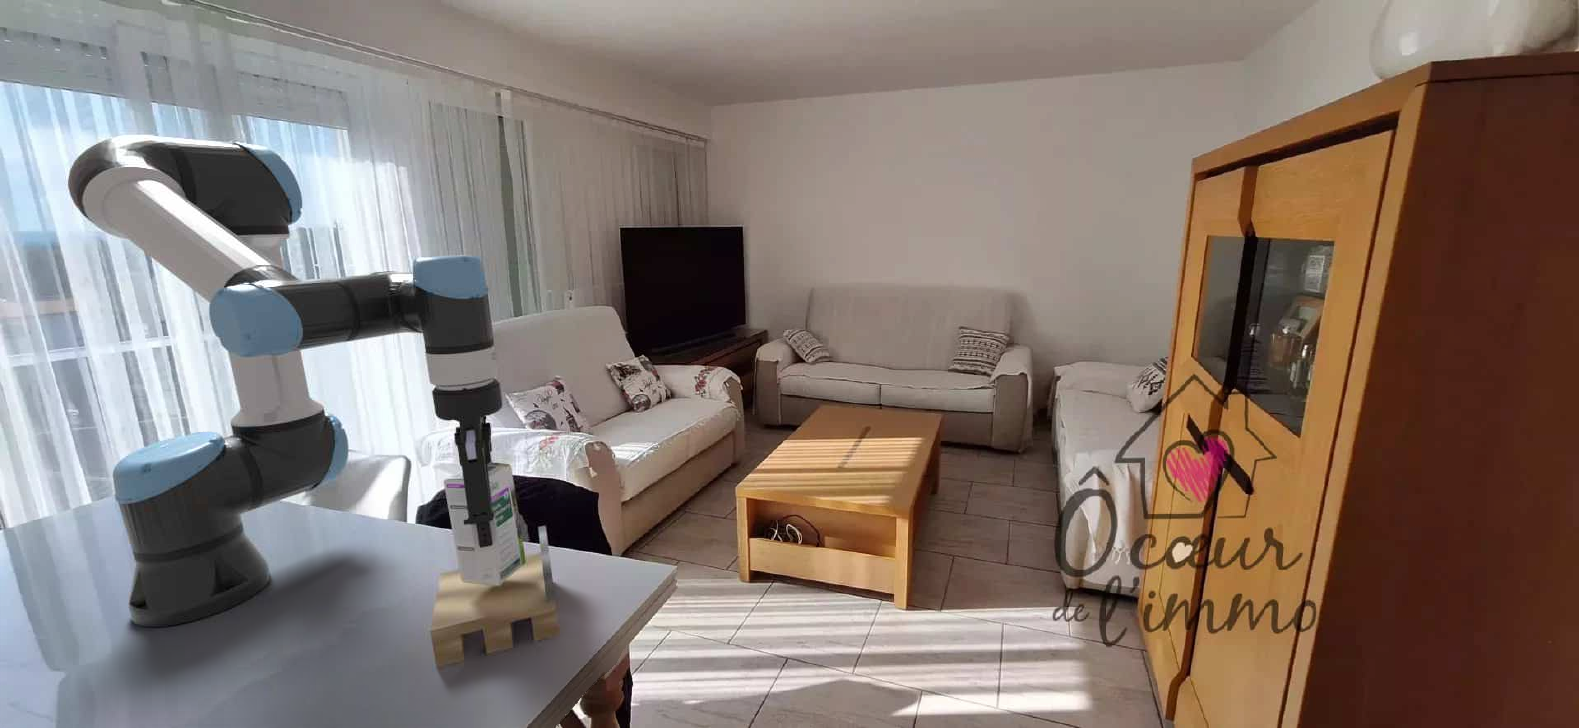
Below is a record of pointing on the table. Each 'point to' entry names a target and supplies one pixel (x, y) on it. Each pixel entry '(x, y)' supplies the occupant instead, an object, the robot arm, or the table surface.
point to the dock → (494, 608)
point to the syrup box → (505, 522)
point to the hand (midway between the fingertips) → (490, 551)
